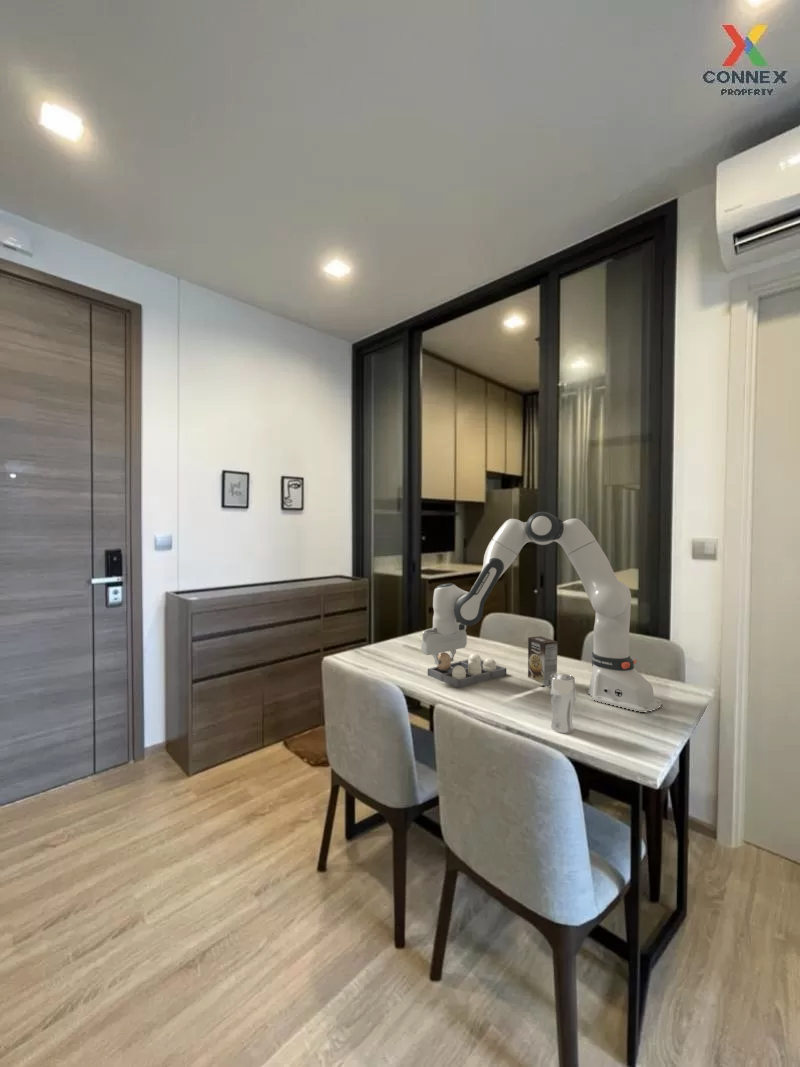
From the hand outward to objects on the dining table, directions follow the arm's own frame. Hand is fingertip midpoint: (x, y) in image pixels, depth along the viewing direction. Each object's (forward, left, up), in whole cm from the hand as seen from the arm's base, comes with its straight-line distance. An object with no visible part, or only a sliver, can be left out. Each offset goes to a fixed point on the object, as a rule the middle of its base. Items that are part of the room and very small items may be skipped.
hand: (444, 662), depth 175 cm
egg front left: (-8, 0, -5) cm, 10 cm away
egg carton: (-4, -8, -6) cm, 11 cm away
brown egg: (0, 0, -2) cm, 2 cm away
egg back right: (0, -16, -5) cm, 17 cm away
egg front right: (-8, -16, -5) cm, 19 cm away
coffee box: (-24, -27, -6) cm, 37 cm away
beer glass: (-52, +1, -6) cm, 53 cm away
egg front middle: (-8, -8, -5) cm, 12 cm away
